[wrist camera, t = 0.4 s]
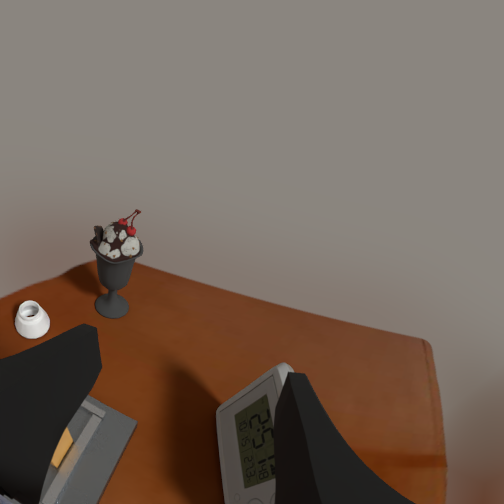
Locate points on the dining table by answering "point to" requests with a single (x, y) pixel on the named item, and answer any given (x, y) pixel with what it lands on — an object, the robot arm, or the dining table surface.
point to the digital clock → (250, 439)
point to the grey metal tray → (88, 455)
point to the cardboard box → (62, 448)
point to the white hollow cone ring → (31, 320)
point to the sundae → (115, 263)
